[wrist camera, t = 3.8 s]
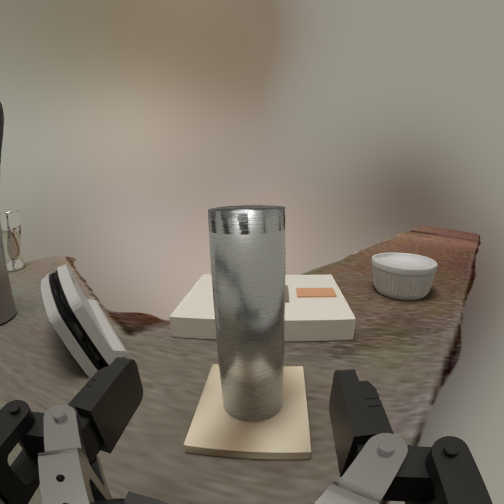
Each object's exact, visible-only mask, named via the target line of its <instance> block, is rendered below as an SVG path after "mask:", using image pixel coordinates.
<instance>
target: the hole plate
mask: <svg viewBox="0 0 504 504" xmlns="http://www.w3.org/2000/svg"><path fill="white" fill-rule="evenodd" d="M285 302H288V303H285V339H284V341H330V340H353V337H354V329H355V321H356V319H355V317H354V315H353V313H352V311H351V309H350V307H349V306H348V304H347V302H346V300H345V298H344V296H343V295H342V293H341V291H340V289H339V287H338V286H337V284H336V282H335V280H334V279H333V277H332V275H285ZM170 325H171V332H172V337H183V338H198V339H215V340H217V338H216V327H215V315H214V302H213V288H212V274H203V275H202V277H201V278H200V279H199V280H198V282H197V283H196V284H195V285H194V286H193V288H192V289H191V290H190V292H189V293H188V294H187V295H186V297H185V298H184V299H183V300H182V301H181V303H180V304H179V305H178V306H177V308H176V309H175V310H174V312H173V313H172V314H171V315H170Z"/></svg>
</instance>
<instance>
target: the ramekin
mask: <svg viewBox="0 0 504 504" xmlns="http://www.w3.org/2000/svg"><path fill="white" fill-rule="evenodd" d="M372 265H373V279H374V286H375V288H376V290H377V291H378V292H379V293H380V294H382V295H384V296H387V297H390V298H394V299H399V300H417V299H421V298H423V297H425V296H426V295H427V294H428V293H429V291H430V288H431V285H432V282H433V278H434V274H435V272H436V270H437V263H436V261H434V260H433V259H430V258H428V257H425V256H420V255H415V254H408V253H381V254H376V255H374V256H373V257H372Z"/></svg>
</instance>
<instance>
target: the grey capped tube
mask: <svg viewBox="0 0 504 504" xmlns="http://www.w3.org/2000/svg"><path fill="white" fill-rule="evenodd" d="M208 219H209V239H210V257H211V273H212V288H213V302H214V315H215V327H216V338H217V350H218V360H219V370H220V380H221V390H222V399H223V407H224V409H225V411H226V412H227V413H228V414H229V415H230V416H231V417H233V418H235V419H237V420H240V421H245V422H259V421H264V420H267V419H269V418H271V417H273V416H275V415H276V414H277V413H278V412H279V411H280V409H281V408H282V403H283V376H284V339H285V207H283V206H271V205H270V206H269V205H249V206H248V205H247V206H246V205H245V206H227V207H217V208H211V209H209V210H208Z"/></svg>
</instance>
